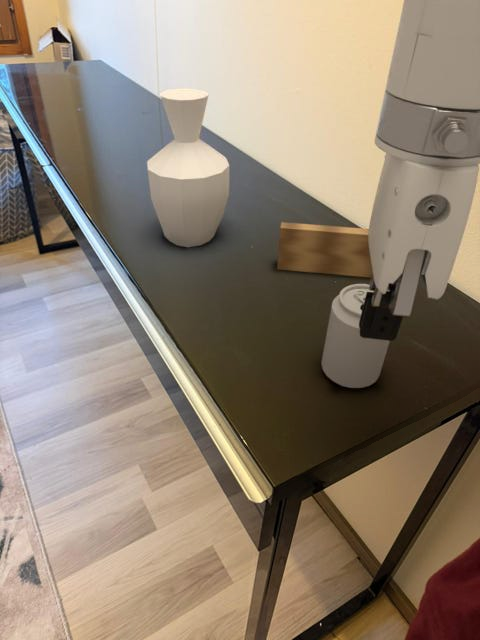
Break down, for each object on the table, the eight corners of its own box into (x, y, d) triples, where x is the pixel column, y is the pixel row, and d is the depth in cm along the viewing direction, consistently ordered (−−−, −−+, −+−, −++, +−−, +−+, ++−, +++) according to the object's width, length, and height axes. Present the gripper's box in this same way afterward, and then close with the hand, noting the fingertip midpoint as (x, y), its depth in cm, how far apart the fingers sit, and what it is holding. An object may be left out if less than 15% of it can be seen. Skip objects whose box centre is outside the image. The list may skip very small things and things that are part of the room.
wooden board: (370, 271, 78) (380, 229, 73) (371, 277, 77) (381, 235, 72) (278, 263, 80) (281, 221, 75) (277, 269, 78) (280, 227, 73)
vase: (168, 262, 80) (153, 110, 64) (145, 227, 90) (127, 87, 74) (241, 246, 84) (244, 100, 69) (212, 214, 94) (209, 80, 79)
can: (344, 400, 56) (362, 325, 48) (309, 362, 61) (320, 288, 53) (390, 380, 58) (415, 306, 51) (353, 345, 63) (370, 273, 56)
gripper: (536, 171, 24) (433, 400, 36) (467, 100, 36) (406, 291, 47) (392, 160, 25) (337, 388, 36) (370, 94, 36) (333, 284, 48)
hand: (376, 333), depth 42 cm, fingers closed
